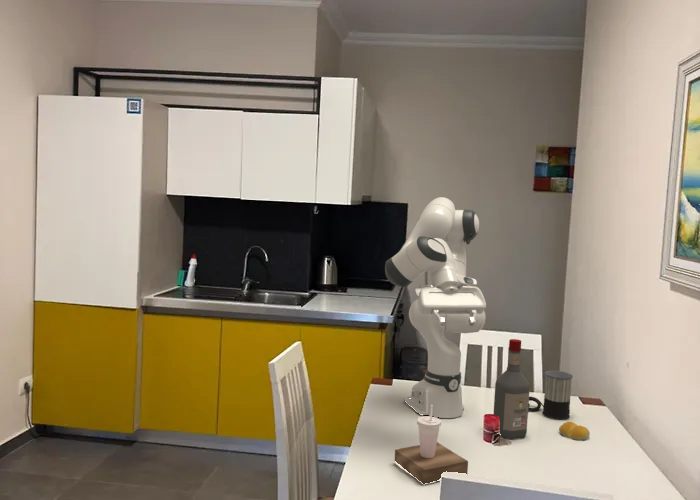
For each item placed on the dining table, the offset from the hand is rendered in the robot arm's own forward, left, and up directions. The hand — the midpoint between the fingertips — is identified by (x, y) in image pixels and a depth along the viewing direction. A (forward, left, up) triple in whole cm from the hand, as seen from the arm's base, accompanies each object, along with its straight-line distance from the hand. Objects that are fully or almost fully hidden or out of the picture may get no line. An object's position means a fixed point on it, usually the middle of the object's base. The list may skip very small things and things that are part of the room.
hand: (457, 324), depth 179 cm
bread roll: (+5, +45, -38) cm, 59 cm away
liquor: (-4, +26, -37) cm, 46 cm away
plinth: (+8, -13, -37) cm, 40 cm away
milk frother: (-15, +52, -38) cm, 66 cm away
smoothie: (+8, -14, -33) cm, 37 cm away
